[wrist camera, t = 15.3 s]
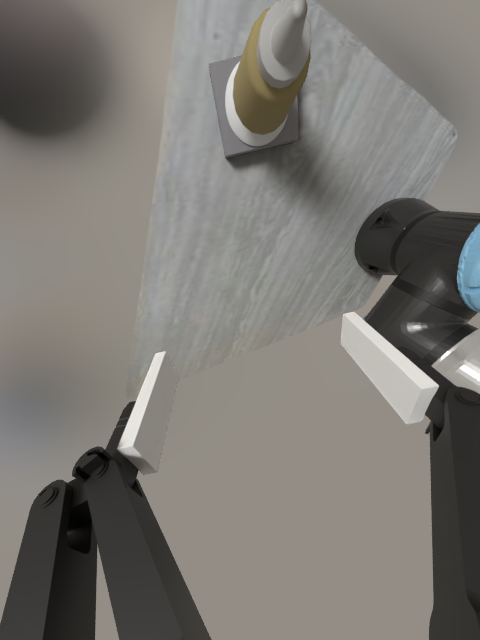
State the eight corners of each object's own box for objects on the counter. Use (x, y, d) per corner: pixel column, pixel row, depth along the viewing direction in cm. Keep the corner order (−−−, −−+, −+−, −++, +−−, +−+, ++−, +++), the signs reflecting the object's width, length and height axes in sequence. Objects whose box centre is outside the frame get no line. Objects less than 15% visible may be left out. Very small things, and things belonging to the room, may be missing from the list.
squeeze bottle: (241, 50, 27) (270, -141, 12) (295, 81, 29) (379, -48, 14) (224, 127, 31) (229, 59, 16) (272, 150, 33) (319, 110, 17)
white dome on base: (290, 52, 29) (297, 38, 27) (294, 141, 35) (300, 137, 32) (209, 72, 30) (208, 60, 27) (225, 158, 35) (225, 155, 32)
